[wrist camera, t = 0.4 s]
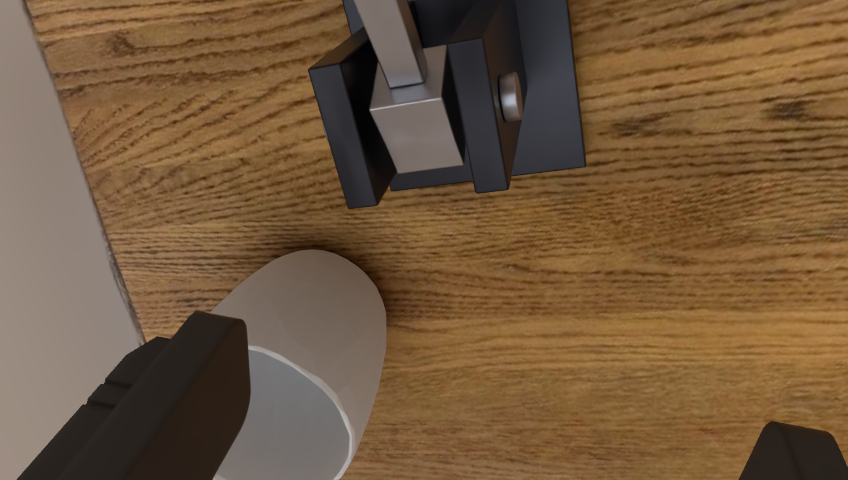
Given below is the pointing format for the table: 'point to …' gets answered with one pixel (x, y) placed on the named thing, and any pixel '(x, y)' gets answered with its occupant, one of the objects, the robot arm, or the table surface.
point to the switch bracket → (463, 96)
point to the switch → (411, 91)
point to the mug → (306, 366)
